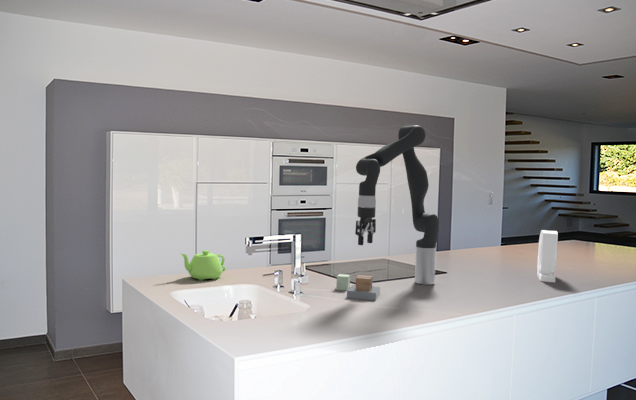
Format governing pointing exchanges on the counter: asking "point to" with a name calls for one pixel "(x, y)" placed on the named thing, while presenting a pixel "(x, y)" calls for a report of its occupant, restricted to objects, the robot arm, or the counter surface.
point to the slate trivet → (363, 293)
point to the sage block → (343, 282)
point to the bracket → (547, 255)
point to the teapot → (204, 265)
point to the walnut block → (364, 283)
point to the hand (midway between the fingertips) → (365, 244)
